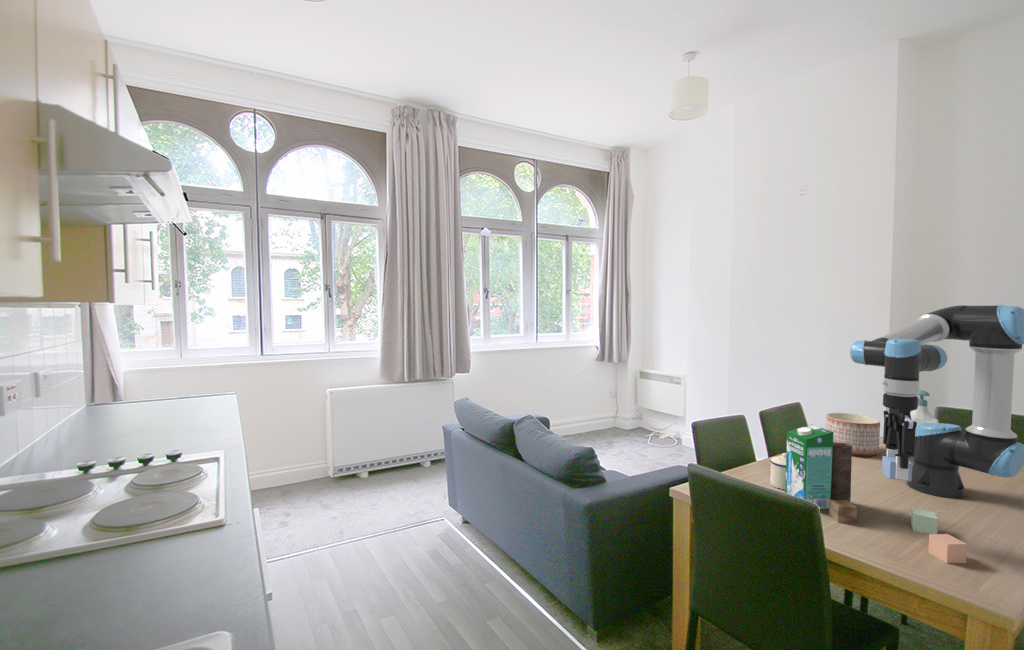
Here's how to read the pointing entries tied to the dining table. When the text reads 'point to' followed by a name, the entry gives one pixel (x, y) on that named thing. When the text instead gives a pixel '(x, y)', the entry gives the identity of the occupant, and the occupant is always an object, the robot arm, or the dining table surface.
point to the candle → (841, 471)
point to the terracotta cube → (947, 548)
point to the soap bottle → (922, 411)
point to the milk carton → (810, 464)
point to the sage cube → (924, 521)
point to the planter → (855, 432)
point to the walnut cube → (842, 511)
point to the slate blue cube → (893, 468)
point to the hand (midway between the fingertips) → (896, 475)
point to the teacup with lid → (778, 471)
